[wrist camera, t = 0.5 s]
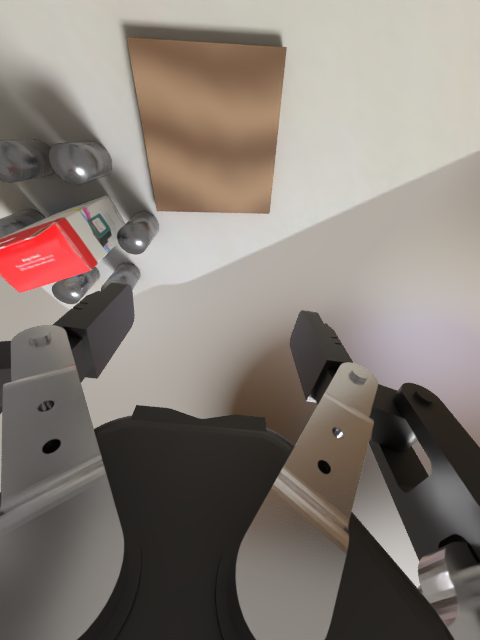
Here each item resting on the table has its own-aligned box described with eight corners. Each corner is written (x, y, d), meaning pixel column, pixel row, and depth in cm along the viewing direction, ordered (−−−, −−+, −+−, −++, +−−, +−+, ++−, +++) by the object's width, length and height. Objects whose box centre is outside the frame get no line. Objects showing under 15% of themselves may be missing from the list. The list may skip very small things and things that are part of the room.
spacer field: (-22, 137, 25) (-80, 137, 20) (144, 143, 26) (126, 145, 21) (53, 281, 35) (27, 303, 31) (168, 282, 36) (160, 304, 32)
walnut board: (131, 41, 21) (126, 37, 20) (284, 51, 22) (286, 47, 21) (159, 208, 30) (156, 211, 29) (268, 211, 31) (269, 213, 30)
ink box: (77, 250, 33) (-4, 312, 21) (49, 214, 30) (-62, 264, 18) (131, 231, 32) (76, 287, 20) (108, 192, 29) (29, 231, 17)
